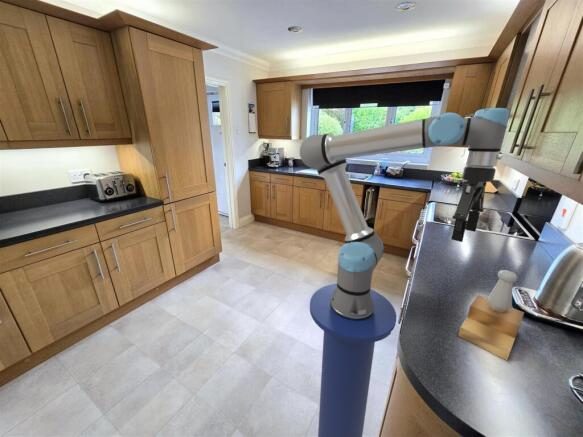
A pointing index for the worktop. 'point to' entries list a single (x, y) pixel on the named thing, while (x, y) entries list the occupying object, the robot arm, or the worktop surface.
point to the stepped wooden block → (491, 327)
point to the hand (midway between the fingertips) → (463, 235)
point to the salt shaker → (502, 291)
